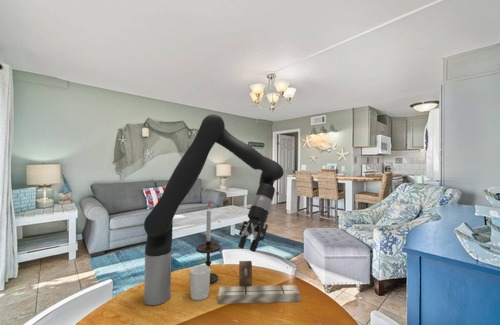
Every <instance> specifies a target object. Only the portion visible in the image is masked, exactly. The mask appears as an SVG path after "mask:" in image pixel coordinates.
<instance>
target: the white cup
mask: <svg viewBox="0 0 500 325" xmlns="http://www.w3.org/2000/svg"><path fill="white" fill-rule="evenodd" d="M210 267H211V266H210ZM210 267H209V266H206V264H205V265H204V264H199V265H195V266H193V267H190V268H189V284H190V285H189V287H190V299H192V300H194V301H202V300H205V299H206V298H208V297H209V294H210V285H211V284H210V273H211V269H210Z"/></svg>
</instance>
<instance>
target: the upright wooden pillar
mask: <svg viewBox="0 0 500 325" xmlns="http://www.w3.org/2000/svg"><path fill="white" fill-rule="evenodd" d="M252 263H253V262H252V261H251V260H239V262H238V264H239V265H238V270H239V271H238V273H239V274H238V276H239V277H238V278H239V279H238V281H239V282H238V286H253V264H252Z"/></svg>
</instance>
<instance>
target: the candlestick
mask: <svg viewBox="0 0 500 325" xmlns="http://www.w3.org/2000/svg"><path fill="white" fill-rule="evenodd" d="M207 206H208V207H207V210H206V229H205V230H206V232H205V234H206V235H205V236H206V239H205V240H203V242H204V243H200V244H198V245H196V247H195V252H197V253H199V254H206V260H205V262H204V263H205V265H206V266H209V267H210V270H212V267H211V264H212V261H211V254H214V253H217V252H219V251H220V250H221V248H222V247H221V244H220V243H216V242H213V241H214V240H213V239H211V238H212V237H211V233H212V230H211V227H212V226H211V225H212V224H211V223H212V210H211V209H210V207H211V200H209V202H208V204H207ZM218 281H219V276H218V274H217V273H215V272H214V273H213V272H210V285H213V284H215V283H217V282H218Z"/></svg>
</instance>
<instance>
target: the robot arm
mask: <svg viewBox="0 0 500 325" xmlns="http://www.w3.org/2000/svg"><path fill="white" fill-rule="evenodd" d="M215 144H218V145H219V146H221V147H223V148H225V149H226V150H227V151H229V152H230V153H231V154H233V155H234V156H236V157H237V158H238V159H239V160H241V161H242V162H244V163H245V165H247V166H249V167H250V168H252V169H253V170H255V171H256V170H260V171H262V172H261V174H260V178H259V184H258V188H257V191H256V193H255V196H254V198H253V200H252V202H251V206H250V208H249V211H248V214H247V217H248V221H247V220H244V221H243V223H242V226H241V227H240V231H239V234H238V235H239V237H240V240H239V242H238V249H239V248H240V249H241V250H242V249H244V248H245V245H246V242H247V239H248V238H249V237H250V236H252V237H253V239H252V240H251V244H250V246H249V251H251V252H254V253H256V250H257V248H258V245H259V243H260V242H261V241H263V242H264V240H265V237H266V233H267V230H268V227H269V226H268V224H267V219H268V217H269V213H270V211H271V207H272V202H273V199H274V196H275V192H276V189H275V186H274V185H275V182H276V181H277V180H280V179H281V178H282V177H283V176H284V169H283V167H282V165H281V164H280V163H278V162H276V161H275V160H273V159H271V158H270V157H267V156H264V155H263V154H261V152H259V151H257V150H256V148H254V147H252V146H251V145H250V144H247V143H246V142H244V141H243V140H240V139H238V138H237V137H235V136H234V135H232V134H231V132H229V131H228V130H227V129H226V126H225V122H224V119H223V118H222V117H221V116H220V115H219V114H215V113H213V114H212V113H211V114H208V115H207V116H205V117H204V118H203V119H202V121H201V124H200V126H199V128H198V131H197V133H196V135H195V137H194V139H193V141H192V142H191V144H190V146H189V147H188V148H187V150H186V151H185V153H184V154H183V155H182V157H181V158H180V160H179V161H178V163H177V165H176V167H174V170H173V172H172V173H171V175H170V177H169V180H168V181H167V183H166V185H165V187H164V191H163V192H162V195H161V196H160V198H159V199H158V200H157V202H156V204H155V205H154V206H153V208H152V209H151V210H150V212H149V213H148V214H147V216H146V218H145V219H144V223H143V228H144V232H145V233H146V234H147V236H146V243H145V247H144V285H143V286H144V288H143V289H144V290H143V303H144V304H145V305H147V306H158V305H162V304H165V303H166V302H168V301H169V300H170V299H171V286H172V282H171V281H172V244H173V223H174V217H175V215H176V213H177V210H178V209H179V207H180V205H181V204H182V202H183V201H184V200H185V199H186V197H187V196H188V194H189V193H190V192H191V190H192V188H193V187H194V185H195V184H196V182H197V180H198V178H199V177H200V176H199V175H201V173H202V170H203V168H204V166H205V163H206V161H207V159H208V156H209V154H210V151H211V150H212V148H213V147H214V145H215Z"/></svg>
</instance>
